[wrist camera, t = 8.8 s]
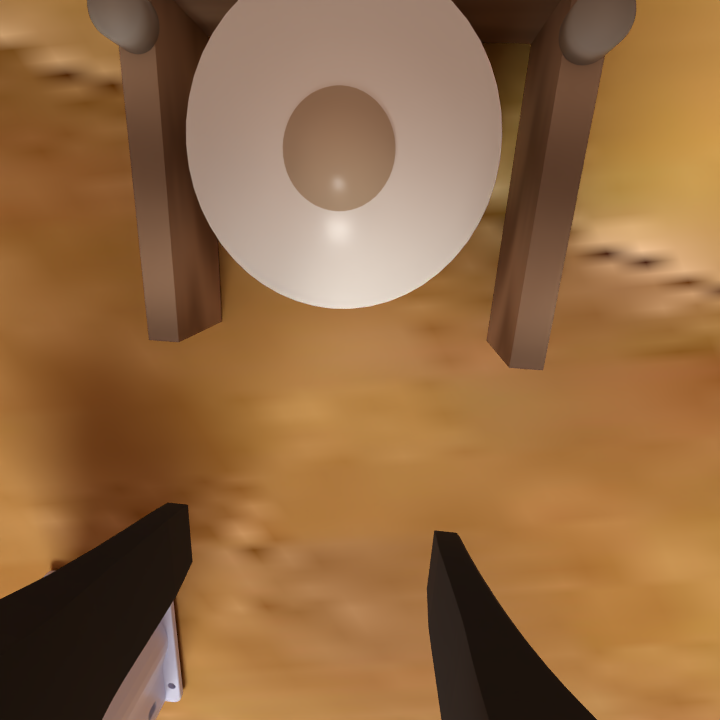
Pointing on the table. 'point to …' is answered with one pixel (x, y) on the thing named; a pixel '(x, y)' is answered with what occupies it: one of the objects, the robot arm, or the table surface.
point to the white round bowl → (343, 143)
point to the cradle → (528, 180)
